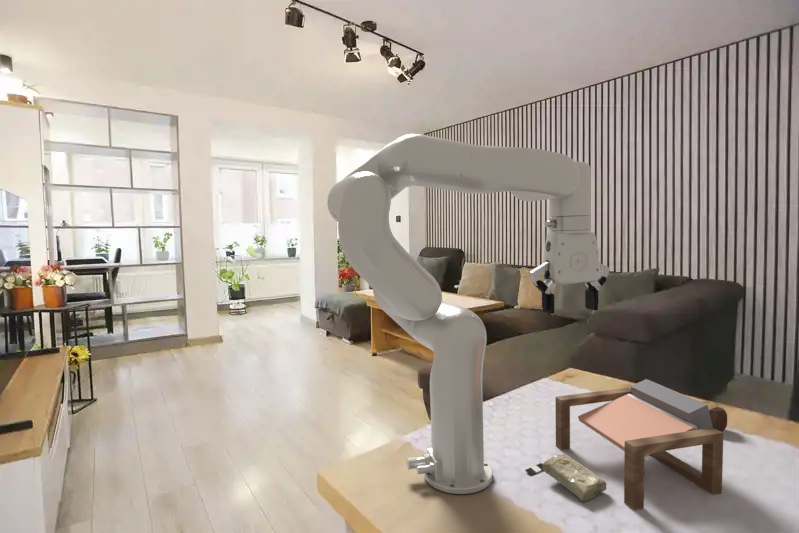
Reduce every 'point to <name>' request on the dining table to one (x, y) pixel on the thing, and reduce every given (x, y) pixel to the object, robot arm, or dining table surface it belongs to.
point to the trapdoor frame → (650, 449)
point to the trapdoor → (647, 414)
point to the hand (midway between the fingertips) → (570, 311)
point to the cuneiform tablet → (571, 476)
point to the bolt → (718, 418)
